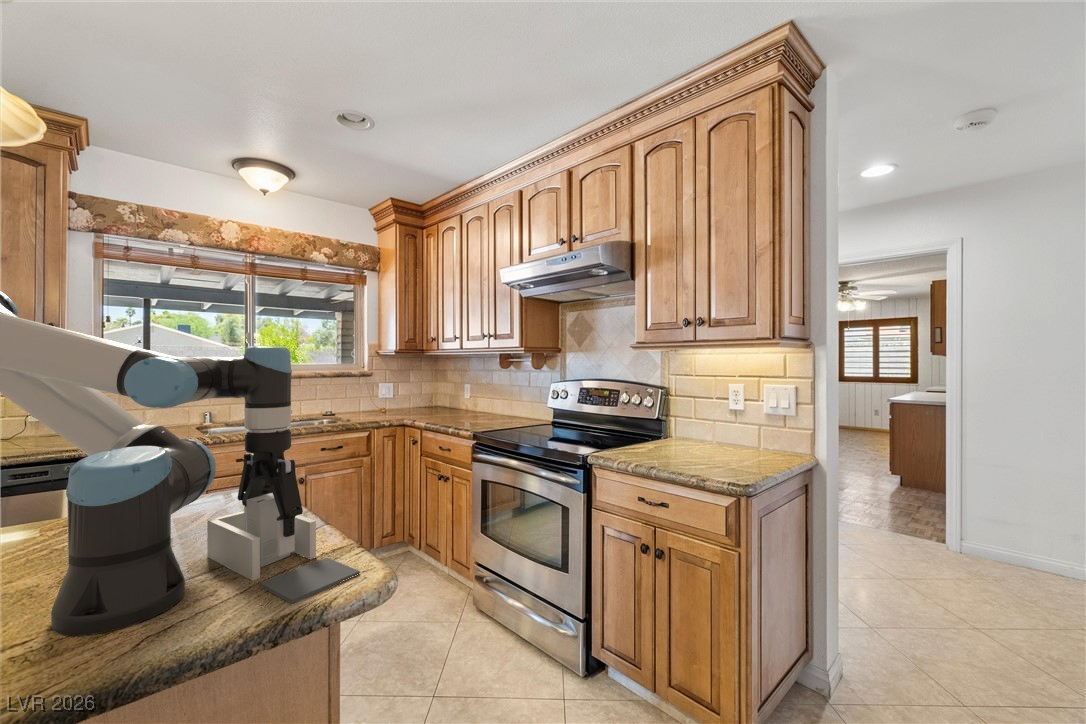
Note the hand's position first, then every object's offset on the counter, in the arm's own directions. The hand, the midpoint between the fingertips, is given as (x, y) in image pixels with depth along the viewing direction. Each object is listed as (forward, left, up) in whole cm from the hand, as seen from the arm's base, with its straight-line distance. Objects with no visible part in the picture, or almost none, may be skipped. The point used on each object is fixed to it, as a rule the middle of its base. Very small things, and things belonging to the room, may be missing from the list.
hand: (268, 545), depth 89 cm
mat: (0, -14, -3) cm, 14 cm away
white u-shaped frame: (0, +3, -3) cm, 4 cm away
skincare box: (0, 0, -3) cm, 3 cm away
